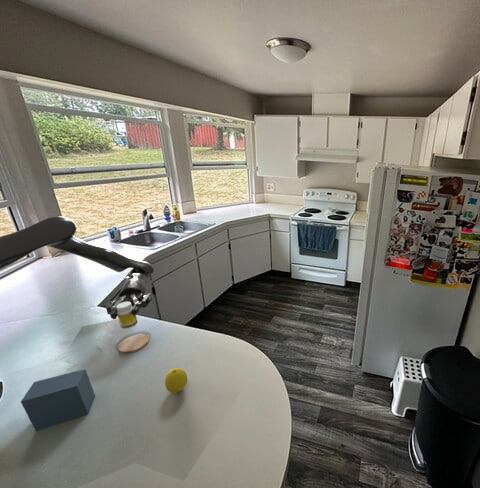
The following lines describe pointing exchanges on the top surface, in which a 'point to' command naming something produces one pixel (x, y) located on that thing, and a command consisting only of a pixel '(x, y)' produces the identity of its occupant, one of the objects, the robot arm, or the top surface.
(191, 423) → the top surface
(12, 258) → the robot arm
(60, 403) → the dark gray rectangular block
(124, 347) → the coaster
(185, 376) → the lemon
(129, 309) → the supplement bottle
